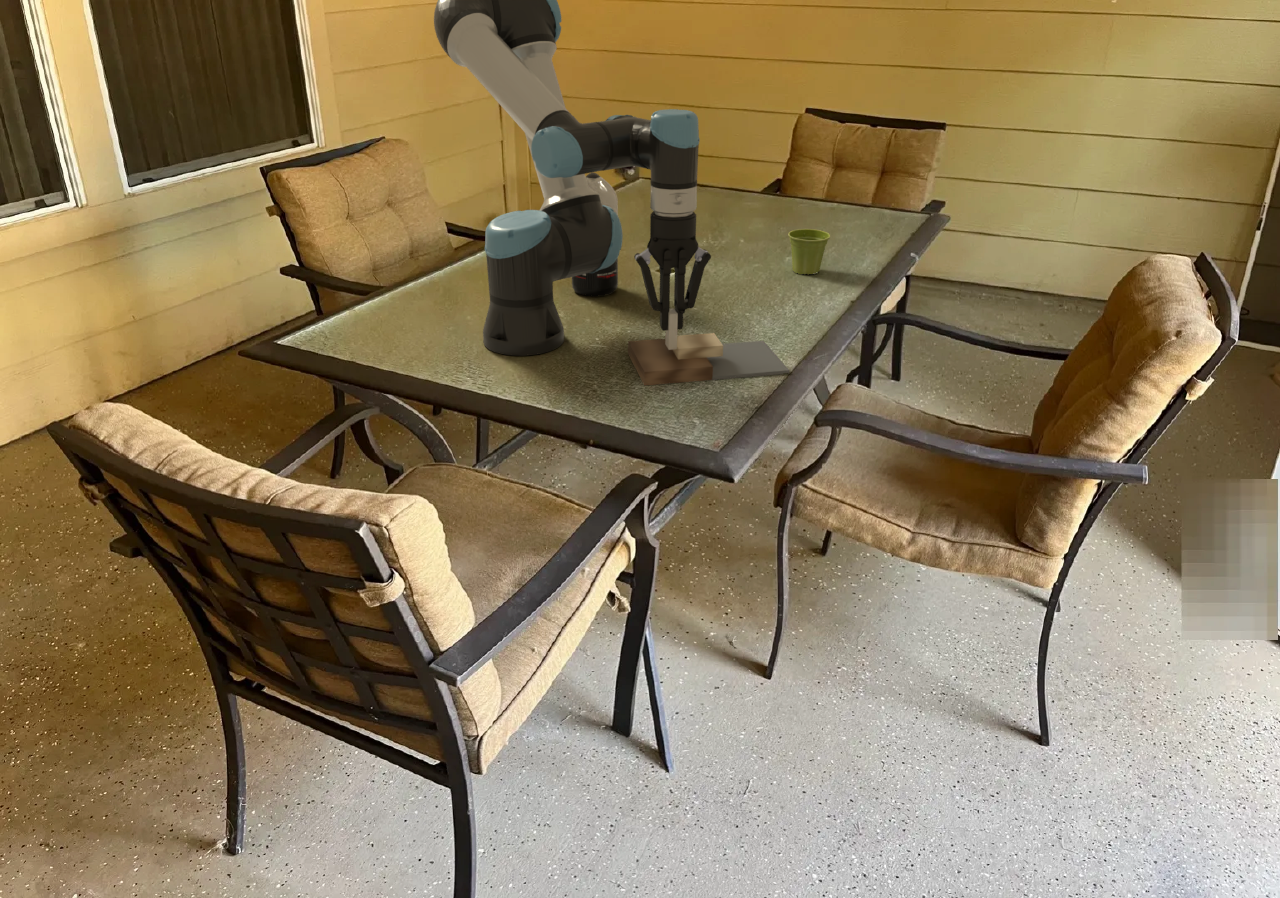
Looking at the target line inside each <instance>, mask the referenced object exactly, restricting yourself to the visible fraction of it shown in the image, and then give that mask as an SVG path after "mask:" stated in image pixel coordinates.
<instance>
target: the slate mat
mask: <svg viewBox="0 0 1280 898" xmlns="http://www.w3.org/2000/svg"><path fill="white" fill-rule="evenodd" d="M722 345H723V356H719V357H707V359H708V360H709V362H710V363H711V364H712V366H713V377H712V380H711V381H715V380H726V379H727V380H728V379H736V378H737V379H738V378H748V377H749V378H750V377H751V378H752V377H760V376H761V377H762V376H772V375H773V376H774V375H784V374H783V373H788V374H790V369H789V368H788V367H787V366H786V365H785V364H784V362H783V361H782V360H781V359H780V358H779V356H778V355H777V354H776V353H775V352H774V351H773V350H772V349H771V348H770V347H769V345H768V344H767V343H766V341H764V340H755V341H742V342H741V341H740V342H729V343H722Z"/></svg>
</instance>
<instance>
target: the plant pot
mask: <svg viewBox="0 0 1280 898" xmlns="http://www.w3.org/2000/svg"><path fill="white" fill-rule="evenodd" d="M787 236H788V238H789V242H790V246H791V263H792V264H791V267H792V272H793V271H794V272H793V273H795V274H797V273H798V274H797V275H801V274H804V275H806V274H807V275H809V274H813V273H816V272H818V271H819V272H820V270H821V265H822V262H823V258H824V257H823V256H824V254H825V250H826V246H827V244H828V241H829V239H830V238H831V234H830V233H829V232H827V231H823V230H820V229H814V228H812V229H811V228H800V229H793V230H791V231H788V234H787Z"/></svg>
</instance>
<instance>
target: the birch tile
mask: <svg viewBox="0 0 1280 898" xmlns="http://www.w3.org/2000/svg"><path fill="white" fill-rule="evenodd" d="M720 340H721V339H719V338H718V337H717V335H716V334H715V332H710V333H695V334H681V335H677V349H673V351H674V353H675V355H676V357H677V358H678V360H679V359H692V358H705V357H719V356H723V345H722V344H723V343H722V342H721V341H720Z"/></svg>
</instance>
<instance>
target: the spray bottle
mask: <svg viewBox="0 0 1280 898" xmlns="http://www.w3.org/2000/svg"><path fill="white" fill-rule="evenodd" d="M585 177H586V181H587V184H588V187H589V188H590V189H592V190H593V191H595V192H597V193H598V194H599V197H600V200H601V204H602V205H605V206H608V207H610V208H612V209H613V212H616V214H617V215H618V216H619V213H618V212H619V208H618V204H619V203H618V200H619V199H618V195H617V192H616V191H615V189H614V187H613V186H612V185H611V184H610V183H609V182H608V181H607V180H605V179H604V178H603V177H602V176H600V175H599V174H598V173H596V172H591V173H587V175H585ZM618 265H619V259H618V258H617V259H616V261H615V262H614V263H613V264H612V265H611V266H609V267H607V268H604V269H601V270H598V271H596V272H594V273H586V274H582V275H578V276H574V277H571V286H572V287H571V288H572V290H573V291H574V292H575V293H576V294H579V295H582V296H586V297H603V296H608V295H611V294H613V293H614V292H616V290H617V289H618V285H619V277H618V276H619V274H618V273H619V271H618V269H619V266H618Z"/></svg>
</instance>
